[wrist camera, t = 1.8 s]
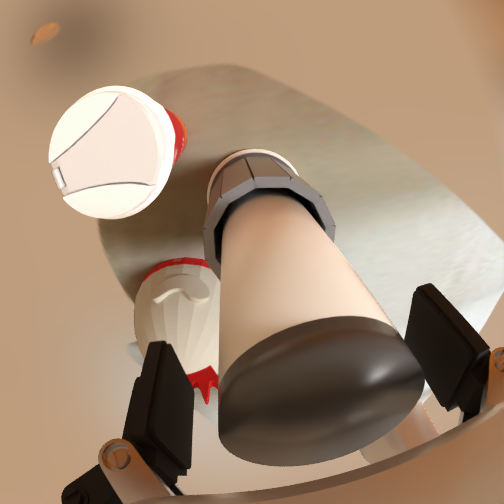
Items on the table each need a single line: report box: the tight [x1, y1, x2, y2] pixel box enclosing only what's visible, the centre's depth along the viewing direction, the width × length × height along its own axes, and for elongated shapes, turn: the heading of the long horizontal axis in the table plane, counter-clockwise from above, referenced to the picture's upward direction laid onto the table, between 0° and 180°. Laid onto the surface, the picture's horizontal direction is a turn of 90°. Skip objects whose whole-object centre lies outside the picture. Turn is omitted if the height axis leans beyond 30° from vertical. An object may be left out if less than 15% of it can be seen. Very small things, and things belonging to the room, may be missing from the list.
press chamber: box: [203, 149, 336, 281], centre depth 25 cm, size 10×10×12 cm
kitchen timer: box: [134, 257, 220, 405], centre depth 29 cm, size 14×14×15 cm
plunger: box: [218, 188, 425, 466], centre depth 15 cm, size 6×6×17 cm
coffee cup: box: [49, 86, 187, 219], centre depth 20 cm, size 8×8×15 cm
